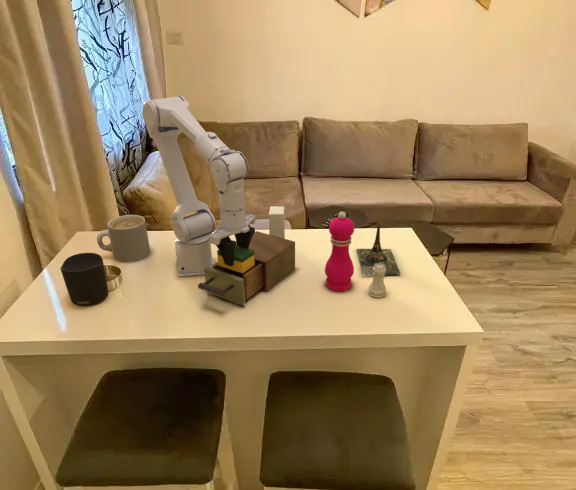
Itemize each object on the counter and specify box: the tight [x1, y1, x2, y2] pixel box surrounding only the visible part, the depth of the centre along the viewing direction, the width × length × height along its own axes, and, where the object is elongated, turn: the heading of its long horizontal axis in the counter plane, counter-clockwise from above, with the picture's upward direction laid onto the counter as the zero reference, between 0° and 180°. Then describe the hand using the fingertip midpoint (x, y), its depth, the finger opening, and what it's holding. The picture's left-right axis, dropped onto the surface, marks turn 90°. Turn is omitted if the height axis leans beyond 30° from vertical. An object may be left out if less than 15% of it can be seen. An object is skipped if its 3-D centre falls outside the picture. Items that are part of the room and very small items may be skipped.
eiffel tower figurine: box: [356, 217, 401, 278], centre depth 129 cm, size 15×10×13 cm
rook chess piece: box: [367, 263, 387, 299], centre depth 117 cm, size 4×4×8 cm
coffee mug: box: [96, 214, 151, 263], centre depth 135 cm, size 13×10×10 cm
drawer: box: [197, 261, 264, 306], centre depth 117 cm, size 17×11×7 cm, turn 147°
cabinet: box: [236, 230, 296, 293], centre depth 125 cm, size 13×12×8 cm
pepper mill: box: [324, 211, 355, 292], centre depth 117 cm, size 7×7×20 cm
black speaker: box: [59, 252, 109, 308], centre depth 115 cm, size 9×9×10 cm
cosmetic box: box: [268, 205, 286, 239], centre depth 138 cm, size 6×4×12 cm
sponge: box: [216, 245, 255, 273], centre depth 115 cm, size 5×8×4 cm, turn 57°
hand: (235, 260), depth 116 cm, fingers closed on sponge, 5 cm apart
